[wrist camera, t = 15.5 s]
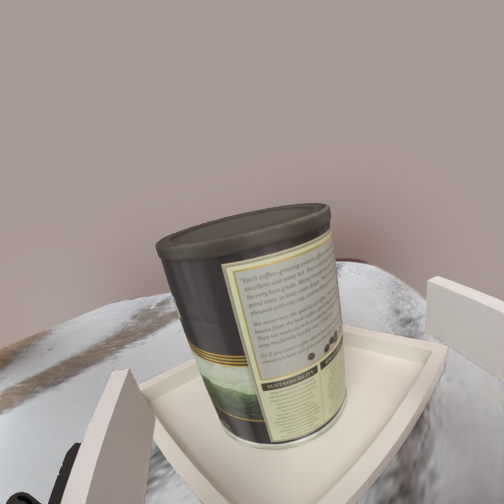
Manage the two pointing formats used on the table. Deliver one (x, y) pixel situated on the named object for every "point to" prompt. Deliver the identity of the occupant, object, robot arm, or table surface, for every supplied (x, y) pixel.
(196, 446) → the serving tray
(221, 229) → the coffee can
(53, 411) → the table surface
